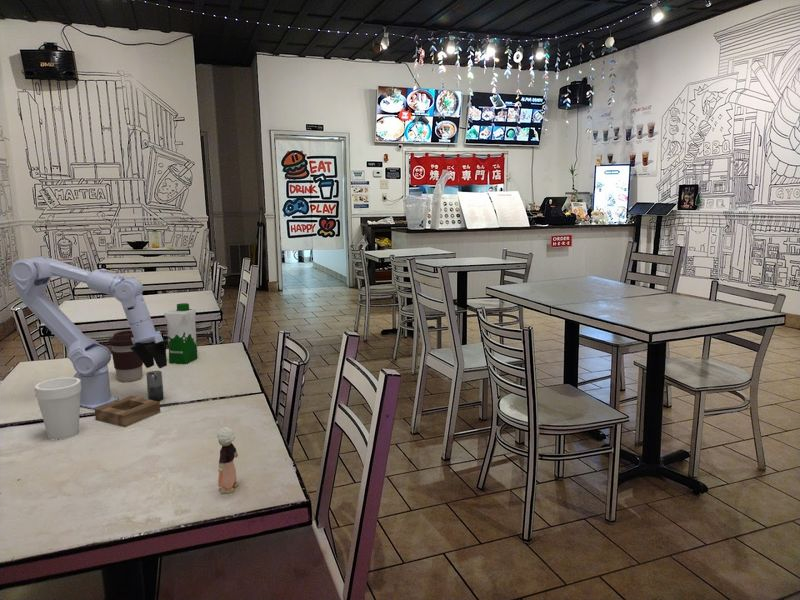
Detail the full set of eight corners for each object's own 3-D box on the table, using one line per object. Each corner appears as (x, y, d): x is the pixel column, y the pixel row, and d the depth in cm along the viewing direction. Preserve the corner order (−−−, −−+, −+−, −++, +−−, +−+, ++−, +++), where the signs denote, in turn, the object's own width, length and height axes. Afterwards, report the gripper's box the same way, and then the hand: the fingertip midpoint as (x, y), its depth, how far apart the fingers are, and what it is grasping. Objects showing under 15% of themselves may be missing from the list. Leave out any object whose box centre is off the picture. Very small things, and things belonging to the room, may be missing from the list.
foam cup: (94, 429, 141) (89, 379, 139) (61, 445, 132) (55, 391, 130) (65, 425, 144) (60, 375, 142) (31, 439, 135) (25, 387, 133)
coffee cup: (153, 377, 182) (149, 331, 179) (124, 385, 174) (120, 338, 171) (135, 372, 187) (131, 328, 185) (106, 380, 179) (101, 334, 176)
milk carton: (201, 358, 204) (197, 303, 200) (188, 365, 195) (184, 308, 191) (178, 357, 205) (174, 302, 202) (164, 364, 196) (160, 307, 193)
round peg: (145, 400, 161) (143, 373, 160) (156, 396, 165) (154, 370, 163) (155, 403, 159) (153, 375, 158) (166, 398, 163) (164, 371, 161)
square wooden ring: (95, 419, 147) (94, 408, 147) (131, 406, 157) (130, 395, 156) (125, 427, 143) (124, 415, 142) (160, 412, 152) (159, 401, 152)
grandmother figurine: (222, 480, 116) (219, 421, 114) (241, 479, 116) (238, 420, 114) (213, 499, 108) (209, 437, 106) (234, 498, 109) (230, 436, 106)
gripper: (165, 314, 154) (182, 361, 157) (142, 317, 164) (158, 361, 166) (141, 323, 149) (158, 371, 152) (118, 326, 159) (135, 370, 161)
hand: (156, 366), depth 159 cm, fingers open, 7 cm apart
